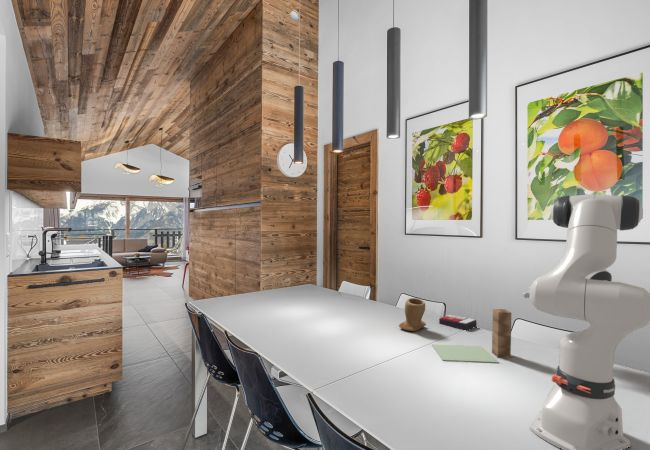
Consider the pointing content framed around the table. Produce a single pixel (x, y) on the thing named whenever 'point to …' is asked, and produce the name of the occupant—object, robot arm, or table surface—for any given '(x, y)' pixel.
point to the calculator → (458, 322)
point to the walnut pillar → (501, 333)
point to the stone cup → (413, 314)
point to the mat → (464, 353)
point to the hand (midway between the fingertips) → (531, 299)
